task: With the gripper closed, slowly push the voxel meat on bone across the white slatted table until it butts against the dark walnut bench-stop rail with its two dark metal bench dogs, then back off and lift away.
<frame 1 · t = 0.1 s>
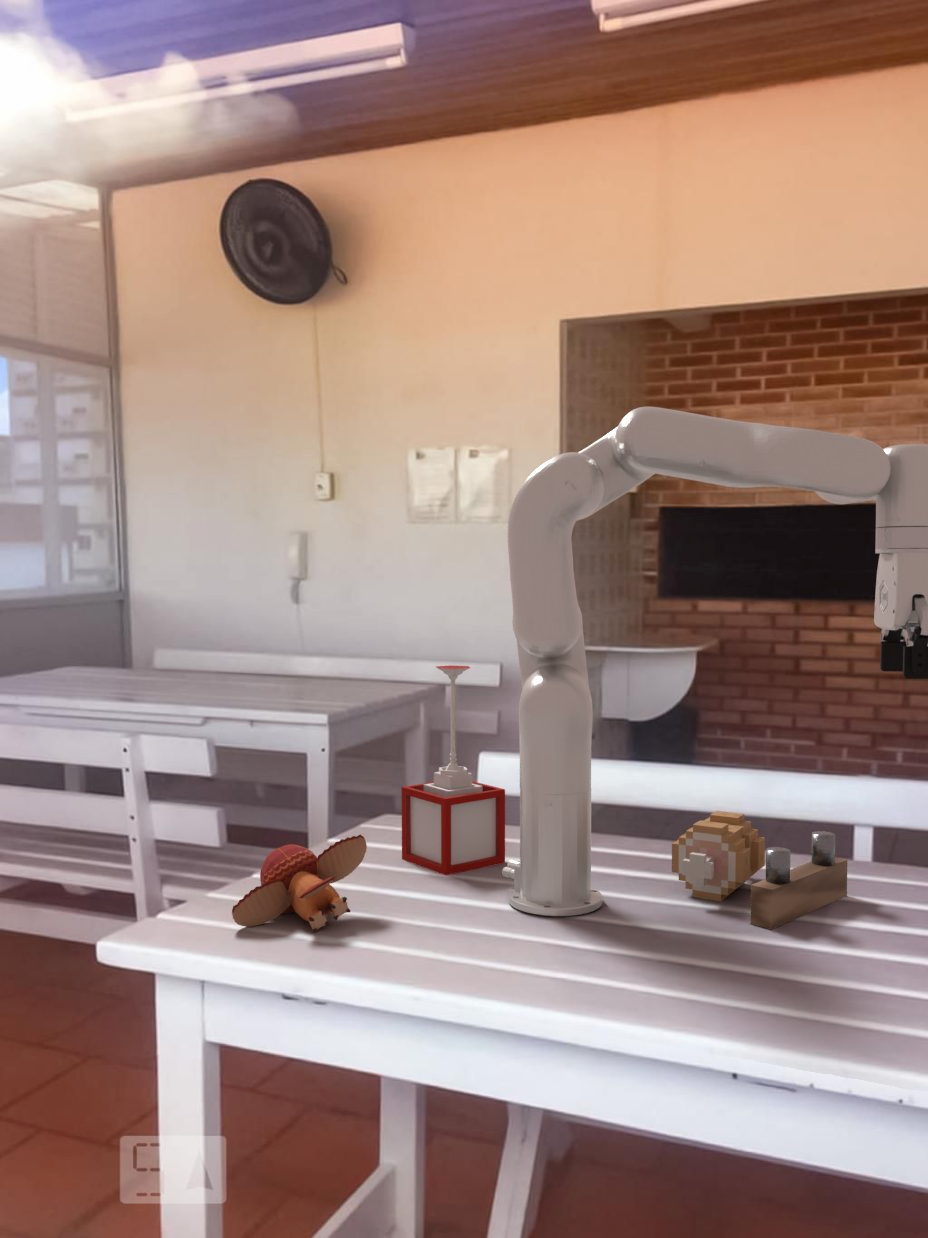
hand: (904, 674, 140), 31 cm above the table, tool pointing down, fingers open, 9 cm apart
voxel meat on bone: (718, 891, 152), on the table
figurine: (300, 920, 140), on the table
pendant light: (453, 862, 167), on the table
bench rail: (800, 909, 143), on the table
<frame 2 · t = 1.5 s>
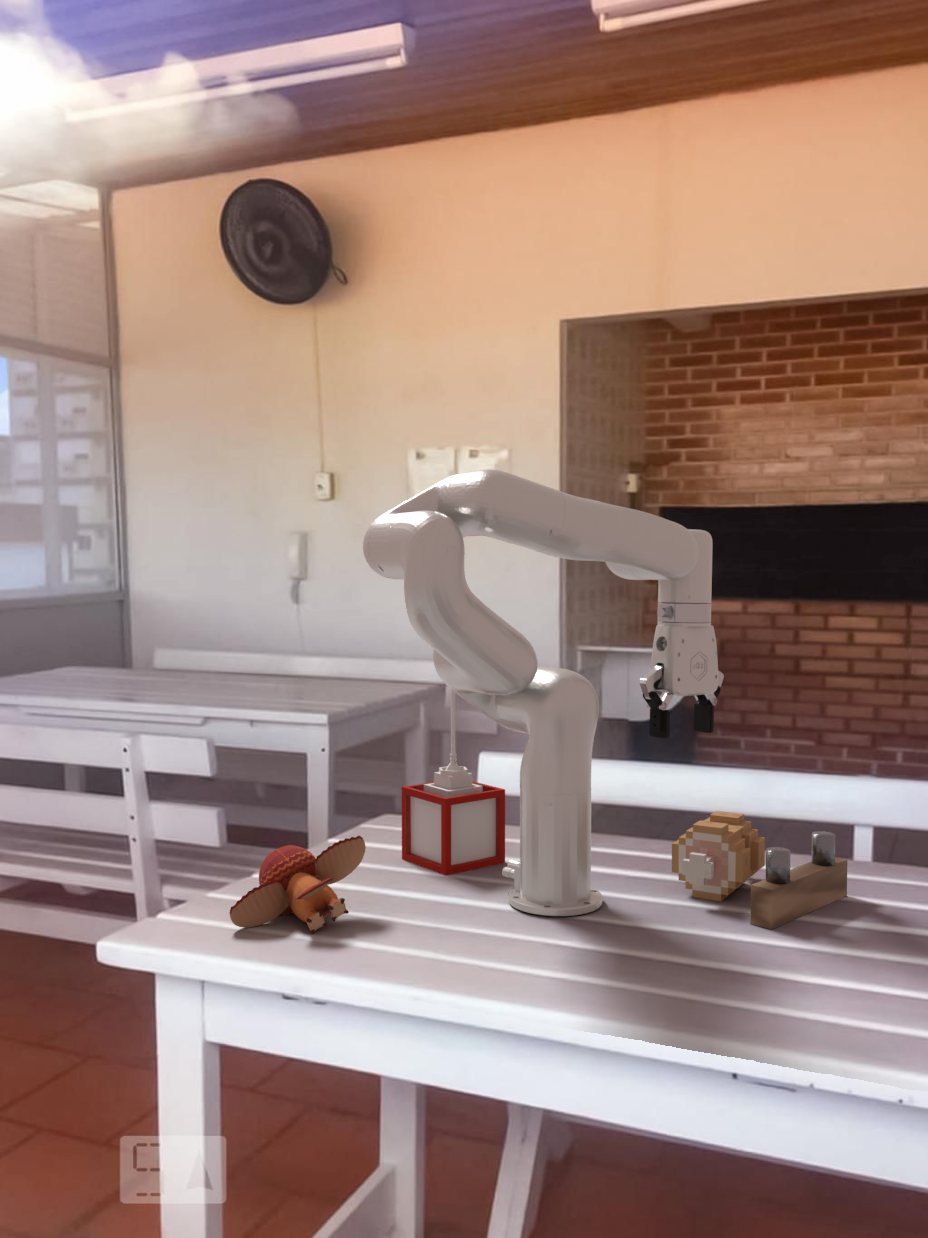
hand: (681, 734, 156), 21 cm above the table, tool pointing down, fingers open, 9 cm apart
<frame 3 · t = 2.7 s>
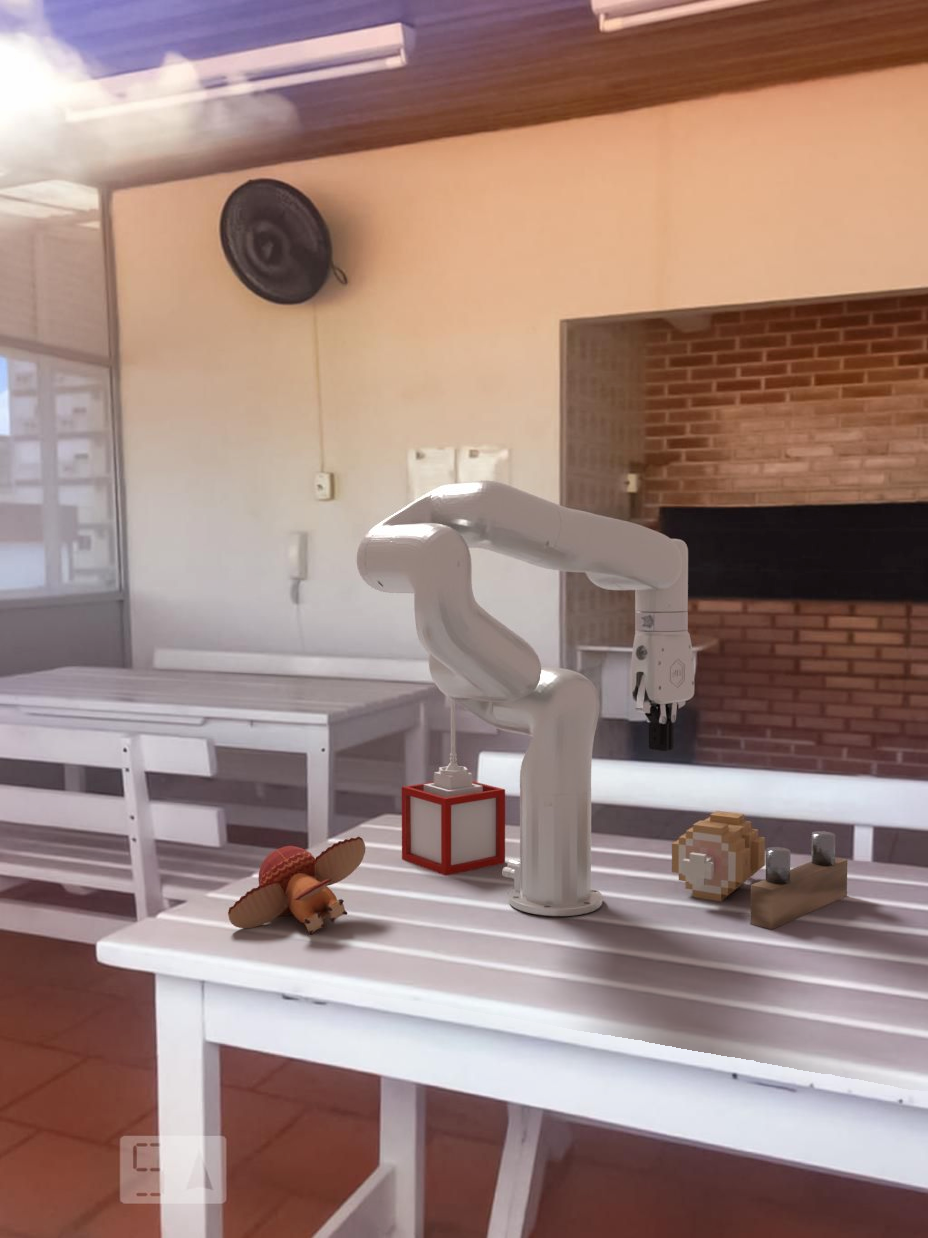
hand: (660, 749, 158), 19 cm above the table, tool pointing down, fingers closed
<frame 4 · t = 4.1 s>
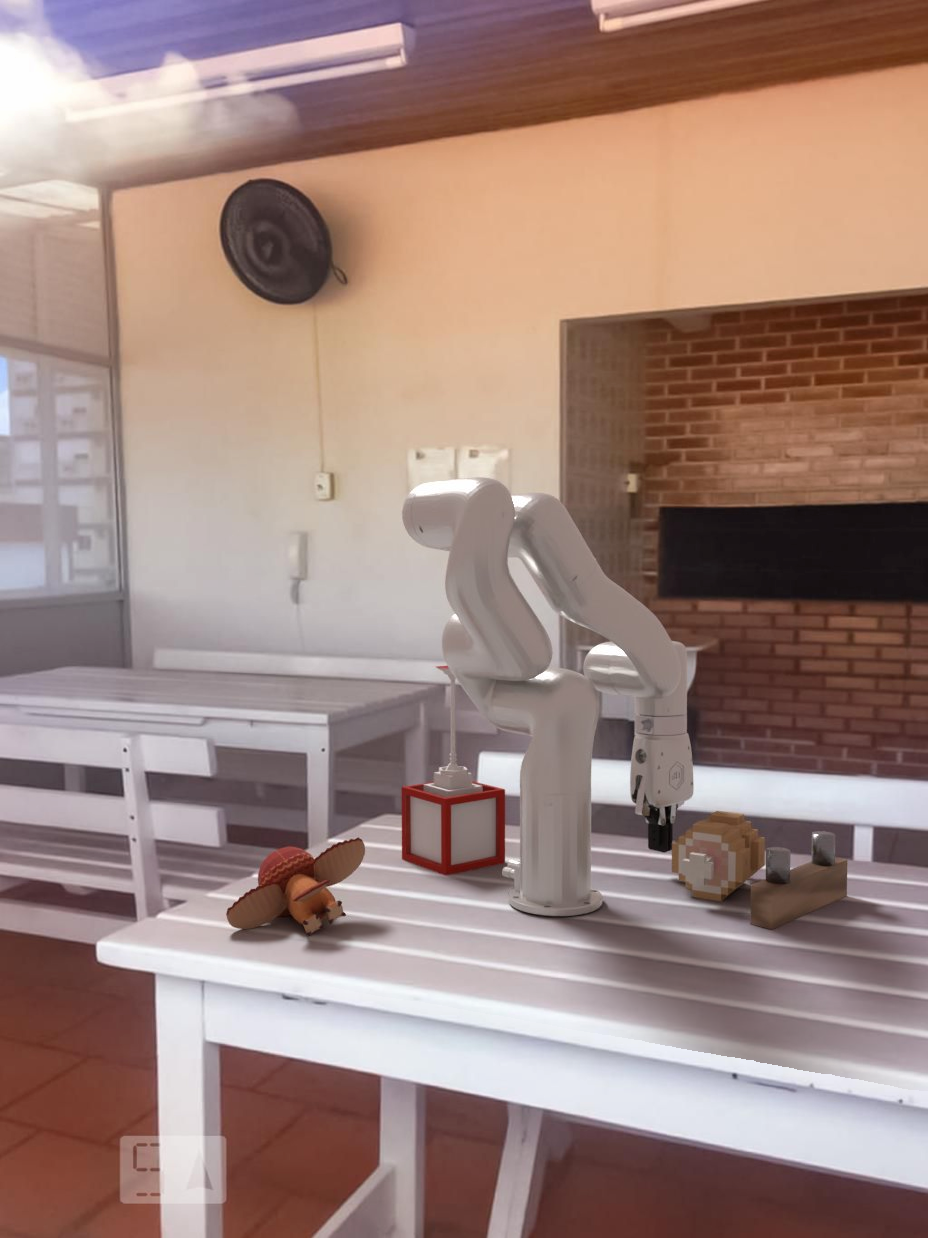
hand: (660, 849, 159), 4 cm above the table, tool pointing down, fingers closed
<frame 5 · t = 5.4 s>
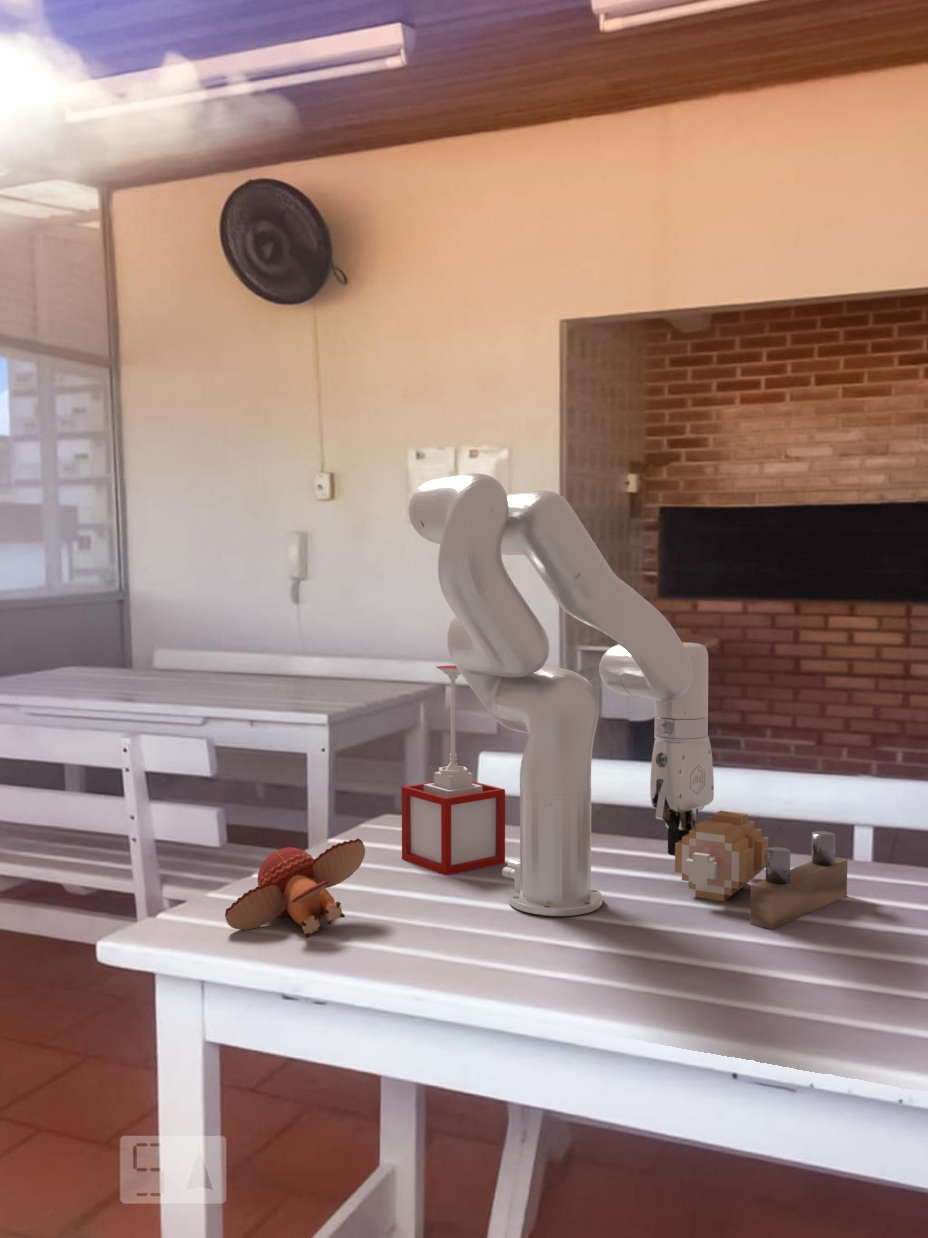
hand: (680, 855, 157), 4 cm above the table, tool pointing down, fingers closed
voxel meat on bone: (721, 891, 152), on the table, touching gripper
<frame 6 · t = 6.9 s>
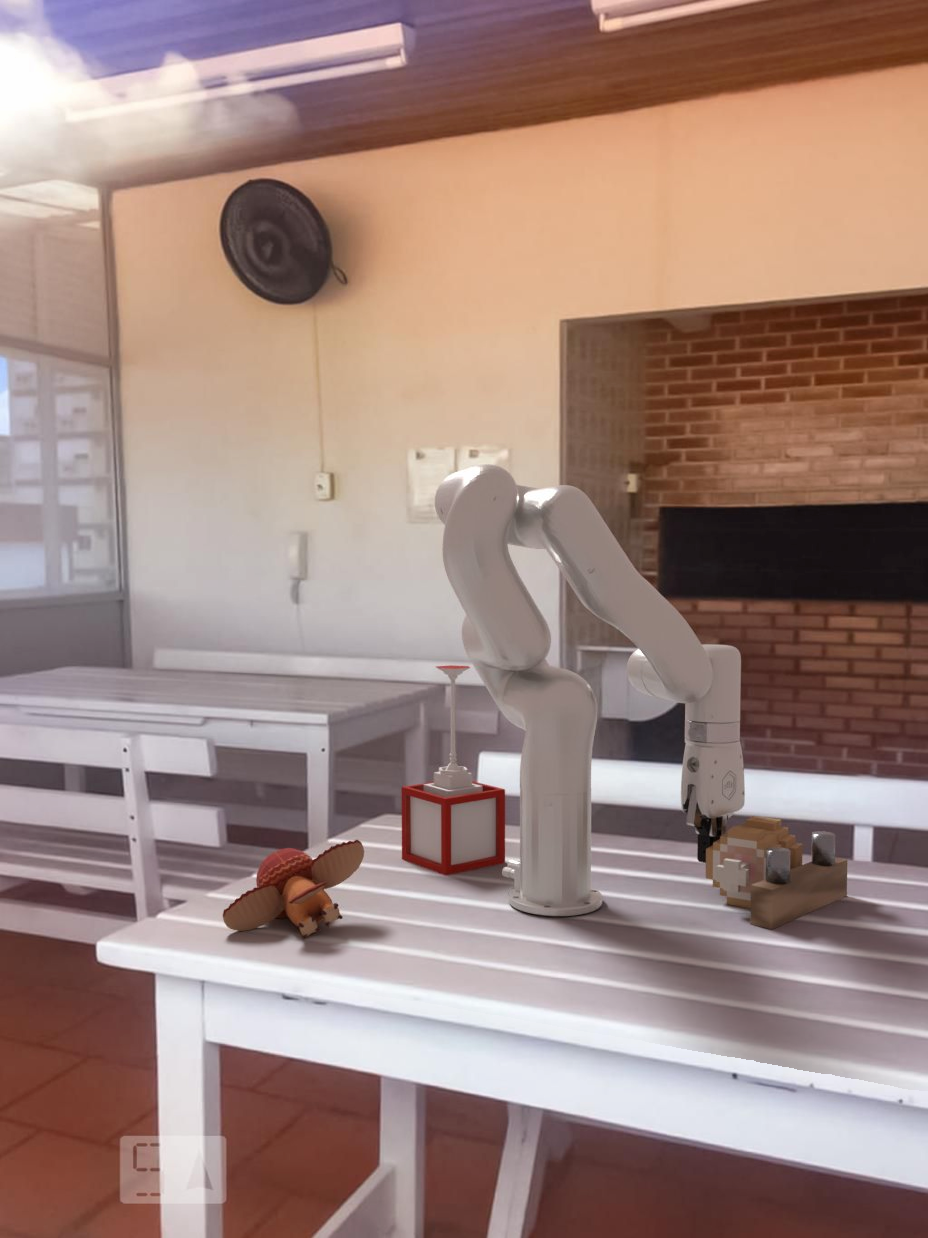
hand: (710, 862, 153), 4 cm above the table, tool pointing down, fingers closed
voxel meat on bone: (754, 898, 149), on the table, touching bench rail, gripper
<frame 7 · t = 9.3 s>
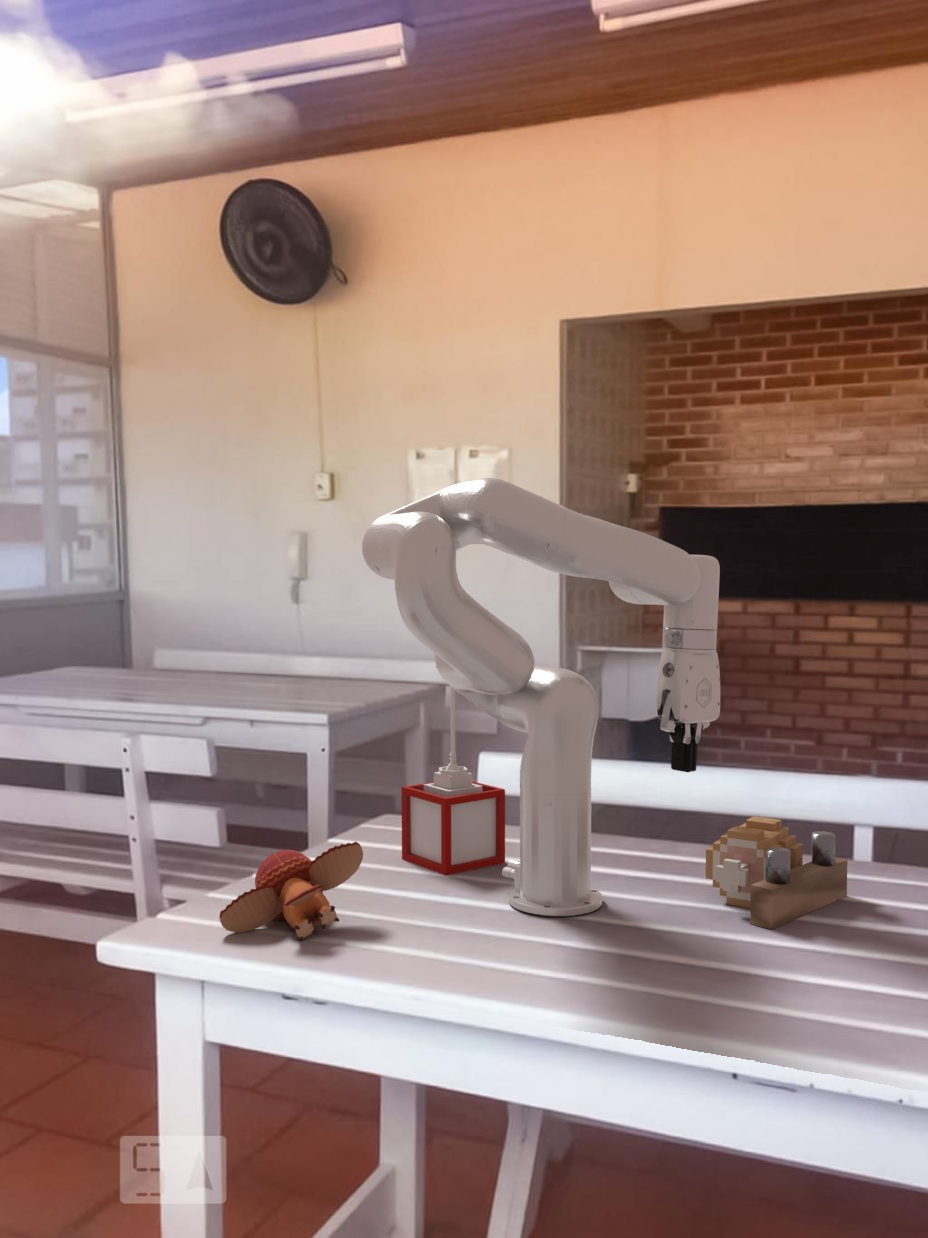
hand: (683, 770, 154), 16 cm above the table, tool pointing down, fingers closed
voxel meat on bone: (754, 898, 149), on the table
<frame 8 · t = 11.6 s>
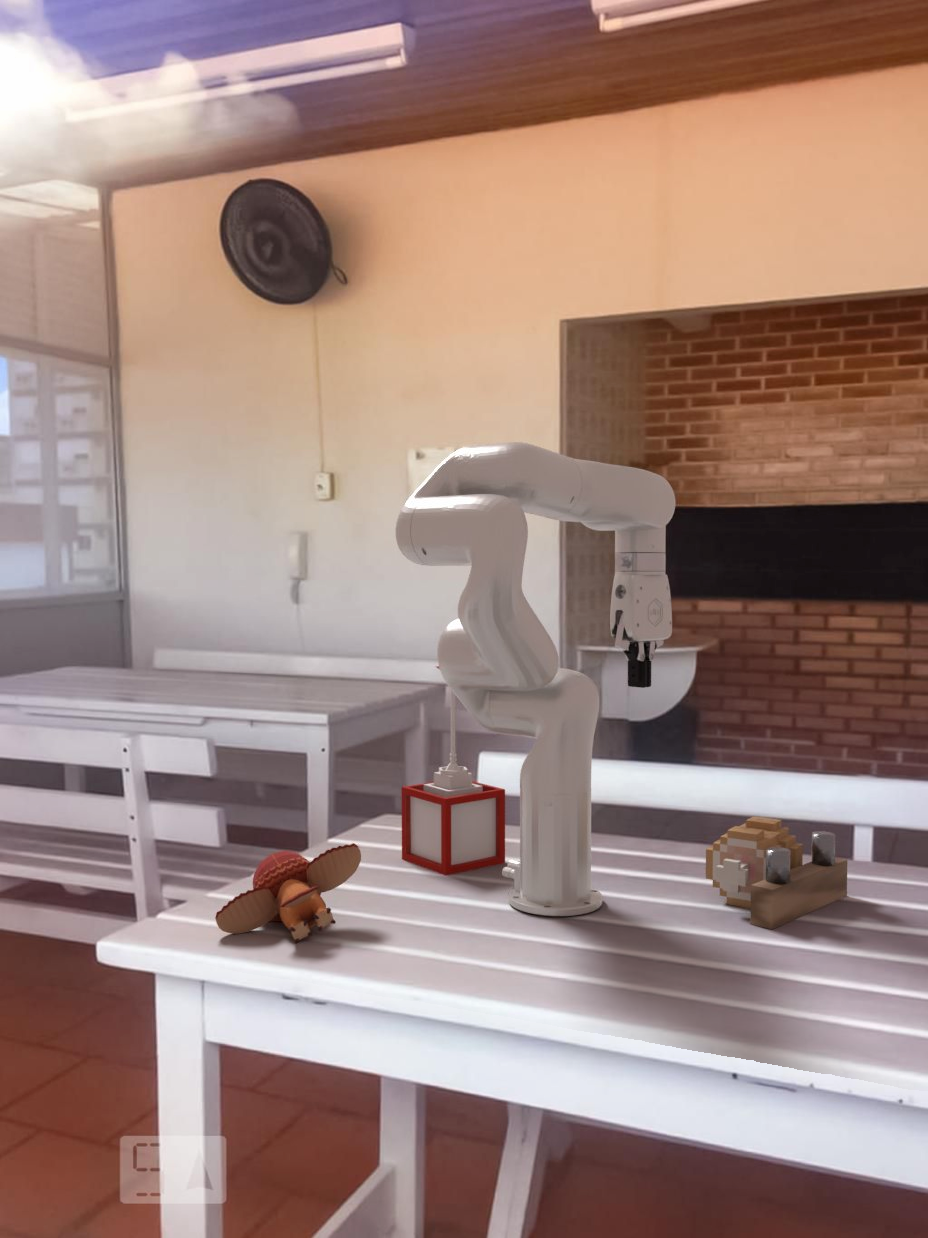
hand: (639, 686, 164), 27 cm above the table, tool pointing down, fingers closed
at the end: voxel meat on bone inside the target area (1.1 cm from its centre), on the table; voxel meat on bone moved 5.4 cm from its start; voxel meat on bone tilted 0° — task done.
